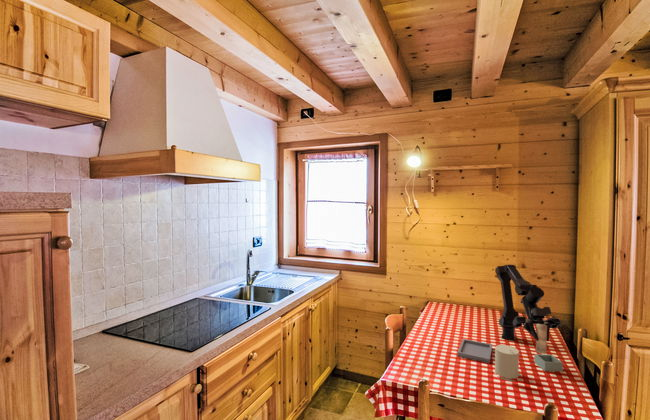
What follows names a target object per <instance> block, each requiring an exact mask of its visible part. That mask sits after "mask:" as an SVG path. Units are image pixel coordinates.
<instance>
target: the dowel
mask: <svg viewBox="0 0 650 420" xmlns="http://www.w3.org/2000/svg"><path fill="white" fill-rule="evenodd" d="M535 325H536V326H535V327H536V328H535V331H536V334H537V336H538V341H536V340H535V352H536V353H538V354H547V345H548V344H547V342H548V341H547V325H544V324H535Z"/></svg>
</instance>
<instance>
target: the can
mask: <svg viewBox="0 0 650 420" xmlns="http://www.w3.org/2000/svg"><path fill="white" fill-rule="evenodd" d="M494 350H495V351H494V353H495V356H494V358H495V359H494V375H497V376H496V377H497V378H498V379H501V380H504V381H506V382H517V381H516V379H517V378H518V377H519V375H520V374H519V368H520V367H519V365H520V364H519V360H520V350H519V349H517V348H516V347H514V346H511V345H508V344H507V345H506V344H498V345H496V346H495V347H494Z"/></svg>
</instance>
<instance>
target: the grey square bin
mask: <svg viewBox="0 0 650 420" xmlns="http://www.w3.org/2000/svg"><path fill="white" fill-rule="evenodd" d="M533 358H534V364H536V365H537V366H538V367H539V368H540V369H542V370H543V371H544V372H564V371H563V370H564V369H563V367H564V363H563V362H562V361H561V360H559V359H558V358H557V357H555V356H554V355H553V354H547V353H546V354H541V353H538V354H536V353H534V357H533Z"/></svg>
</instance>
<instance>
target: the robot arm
mask: <svg viewBox="0 0 650 420" xmlns="http://www.w3.org/2000/svg"><path fill="white" fill-rule="evenodd" d="M494 272H495V274H496V278H497V279H498V281H499V282H500V286H501V297H502V304H503V310H502V312H501V317H500V318H499V319H498V325H499V326H500V327H501V328H502V333H501V339H503V340H509V341H516V335H515V329H519V328H521V327H522V329H524V330H526V332H528V333H529V334H530V335H531V336H532V337H533V338H534V340H535V342H536V341H538V336H537V334H536V328H535V325H536V324H544V325H547V342H550V331H551V329H557V328H559V327H560V325H562V321H561V319H560V318H559V317H549V318H548V319H546V317H548V315H551V314H552V310H551V308H550V306H543V307H539V306H538V303H539V302H540V301H541V299H542V298H543V297H544V295H545V291H544V290H543V289H542V288H540V287H538V286H537V284H531V283H530V281H527V280H526V279H524V277H523V276H522V274H521V273H520V272H519V270H518V269H517V266H516V264H504V265H498V266H496V267H495V269H494ZM511 281H512V282H513V284H514V285H515V286H514V291H515V293H516V294H517V296H523V297H521V300H520V304H522V305H523V309H524V315H526V316H523V315H521V316H520V315H519V312H518V311H516V310H515V307H514V299H513V294H512V293H513V292H512V286H511Z"/></svg>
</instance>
